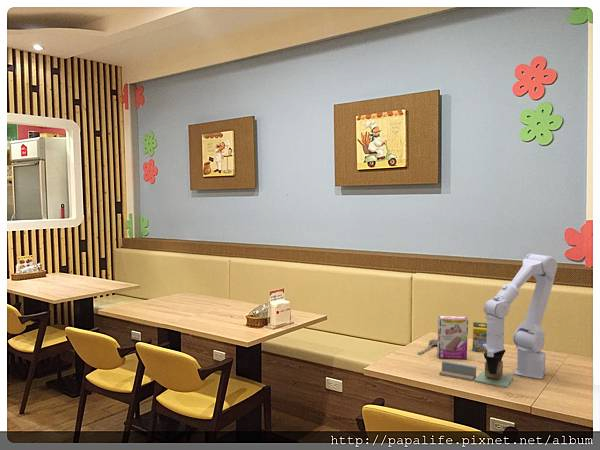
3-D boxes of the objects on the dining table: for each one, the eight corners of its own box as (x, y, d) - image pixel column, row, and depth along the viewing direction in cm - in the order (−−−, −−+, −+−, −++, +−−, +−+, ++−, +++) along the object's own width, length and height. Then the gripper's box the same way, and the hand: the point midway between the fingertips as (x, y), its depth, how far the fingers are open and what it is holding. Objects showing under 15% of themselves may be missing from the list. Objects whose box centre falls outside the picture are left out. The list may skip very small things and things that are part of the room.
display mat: (513, 377, 193) (513, 376, 193) (507, 387, 184) (507, 385, 184) (481, 372, 199) (482, 370, 199) (474, 381, 190) (474, 379, 190)
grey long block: (475, 377, 194) (476, 366, 194) (472, 381, 190) (473, 370, 190) (442, 371, 200) (443, 360, 200) (439, 374, 197) (439, 364, 196)
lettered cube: (502, 374, 192) (502, 360, 192) (499, 379, 188) (499, 364, 188) (488, 372, 195) (488, 358, 195) (484, 376, 191) (485, 362, 191)
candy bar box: (438, 358, 215) (439, 318, 214) (436, 355, 220) (437, 315, 219) (467, 359, 214) (468, 319, 212) (465, 355, 219) (465, 316, 217)
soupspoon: (447, 346, 235) (433, 344, 239) (447, 338, 235) (433, 336, 239) (426, 357, 218) (411, 355, 222) (426, 349, 218) (411, 346, 222)
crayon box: (472, 351, 225) (473, 323, 224) (472, 349, 228) (473, 322, 227) (490, 352, 223) (491, 325, 222) (490, 350, 225) (491, 323, 225)
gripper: (488, 327, 199) (487, 363, 200) (478, 337, 186) (477, 375, 187) (508, 330, 195) (507, 367, 196) (499, 340, 183) (498, 379, 184)
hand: (494, 371), depth 192 cm, fingers closed on lettered cube, 5 cm apart
